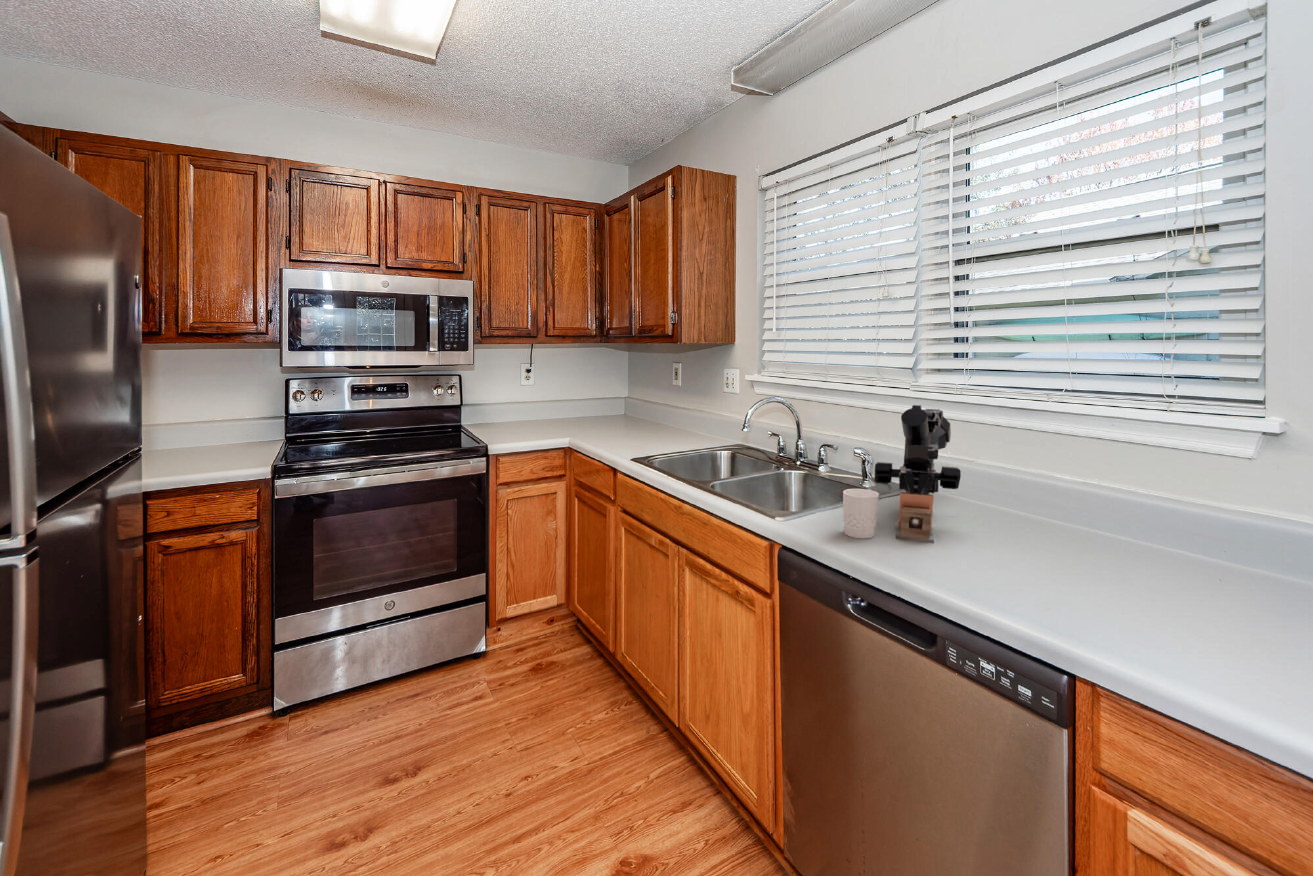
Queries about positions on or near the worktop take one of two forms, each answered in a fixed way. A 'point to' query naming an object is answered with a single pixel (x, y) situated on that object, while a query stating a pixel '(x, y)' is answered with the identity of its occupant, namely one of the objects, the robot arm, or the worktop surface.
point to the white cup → (860, 512)
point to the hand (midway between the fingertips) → (914, 505)
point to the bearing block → (911, 531)
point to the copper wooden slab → (915, 506)
